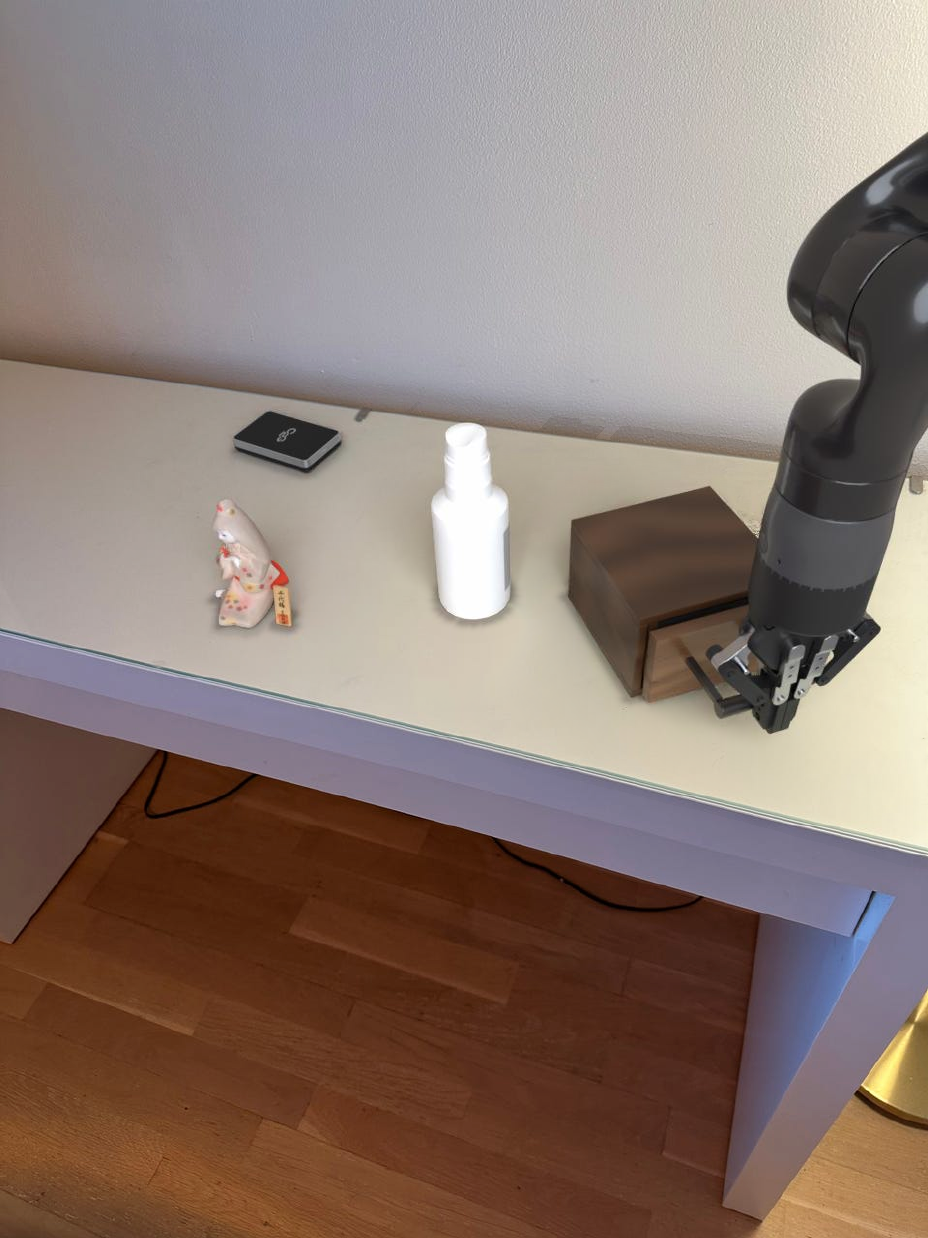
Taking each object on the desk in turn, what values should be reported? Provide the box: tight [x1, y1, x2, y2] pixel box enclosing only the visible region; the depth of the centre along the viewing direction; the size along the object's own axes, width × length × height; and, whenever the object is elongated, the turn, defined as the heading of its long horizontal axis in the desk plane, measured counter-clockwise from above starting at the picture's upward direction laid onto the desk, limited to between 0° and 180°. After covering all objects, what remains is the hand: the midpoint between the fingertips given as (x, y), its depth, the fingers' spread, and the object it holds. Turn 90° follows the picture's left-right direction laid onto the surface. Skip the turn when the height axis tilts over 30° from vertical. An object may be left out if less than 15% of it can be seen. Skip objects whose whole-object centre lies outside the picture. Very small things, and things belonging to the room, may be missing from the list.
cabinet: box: [567, 485, 758, 698], centre depth 81 cm, size 14×14×9 cm
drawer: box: [641, 604, 758, 720], centre depth 77 cm, size 19×12×7 cm, turn 18°
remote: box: [657, 597, 749, 629], centre depth 78 cm, size 8×4×3 cm
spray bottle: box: [430, 422, 512, 620], centre depth 82 cm, size 7×7×18 cm
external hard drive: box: [232, 410, 342, 473], centre depth 107 cm, size 7×11×2 cm, turn 60°
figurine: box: [211, 497, 293, 629], centre depth 85 cm, size 9×7×12 cm
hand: (771, 723), depth 70 cm, fingers closed
